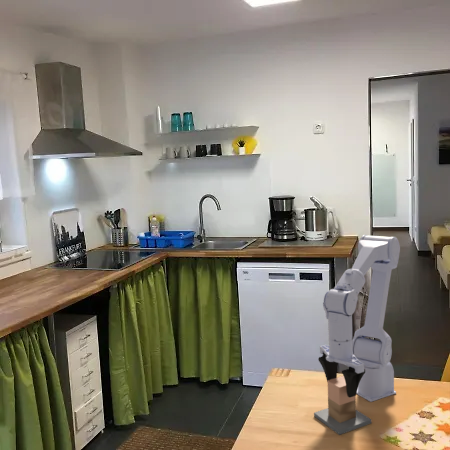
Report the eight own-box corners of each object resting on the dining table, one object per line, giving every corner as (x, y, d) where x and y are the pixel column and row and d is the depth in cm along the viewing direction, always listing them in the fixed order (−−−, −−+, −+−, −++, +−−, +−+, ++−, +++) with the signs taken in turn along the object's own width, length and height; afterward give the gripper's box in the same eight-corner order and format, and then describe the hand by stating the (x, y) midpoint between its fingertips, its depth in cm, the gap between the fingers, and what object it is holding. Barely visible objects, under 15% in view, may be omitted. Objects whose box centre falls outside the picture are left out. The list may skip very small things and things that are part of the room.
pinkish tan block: (343, 392, 128) (343, 375, 127) (355, 399, 124) (355, 382, 123) (328, 397, 126) (327, 380, 125) (339, 405, 122) (339, 387, 121)
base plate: (344, 406, 132) (344, 402, 132) (371, 423, 123) (371, 419, 123) (314, 416, 128) (314, 412, 128) (339, 434, 119) (339, 431, 119)
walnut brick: (343, 409, 128) (343, 392, 128) (355, 417, 124) (355, 399, 124) (328, 414, 126) (327, 397, 126) (340, 422, 122) (339, 405, 122)
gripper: (309, 332, 127) (311, 382, 129) (347, 350, 114) (348, 406, 116) (331, 326, 130) (333, 376, 132) (370, 344, 117) (371, 398, 119)
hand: (341, 389), depth 124 cm, fingers open, 7 cm apart
